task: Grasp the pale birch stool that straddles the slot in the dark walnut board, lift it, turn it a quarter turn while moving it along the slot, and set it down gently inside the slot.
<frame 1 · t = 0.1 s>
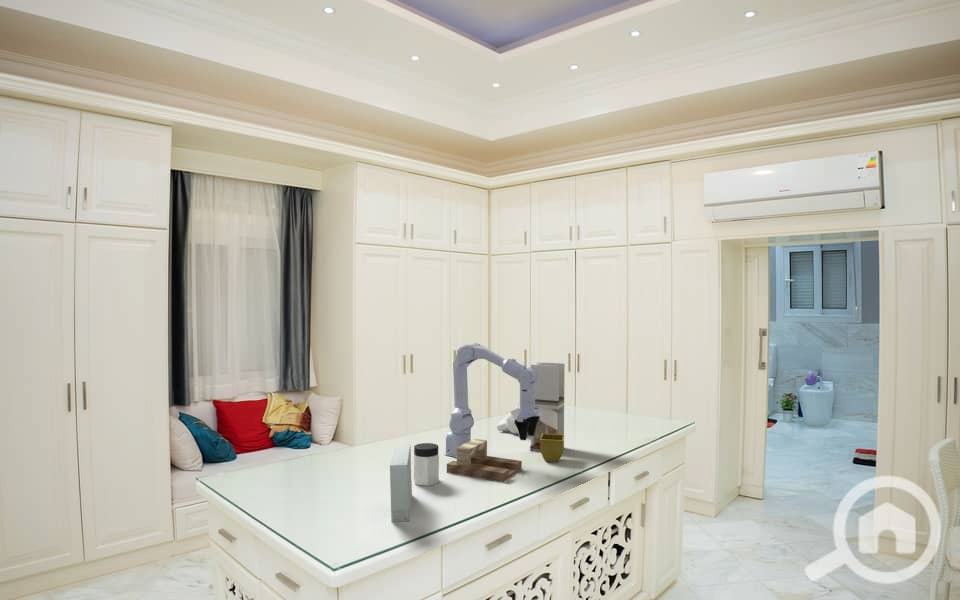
hand: (527, 437, 205), 10 cm above the table, tool pointing down, fingers open, 7 cm apart
board: (484, 470, 198), on the table
grey dispenser tower: (547, 449, 227), on the table
flower pot: (552, 460, 211), on the table
jar: (426, 482, 185), on the table
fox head: (514, 433, 255), on the table
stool: (472, 460, 200), point 3 cm above the table, touching board
skincare box: (401, 508, 162), on the table
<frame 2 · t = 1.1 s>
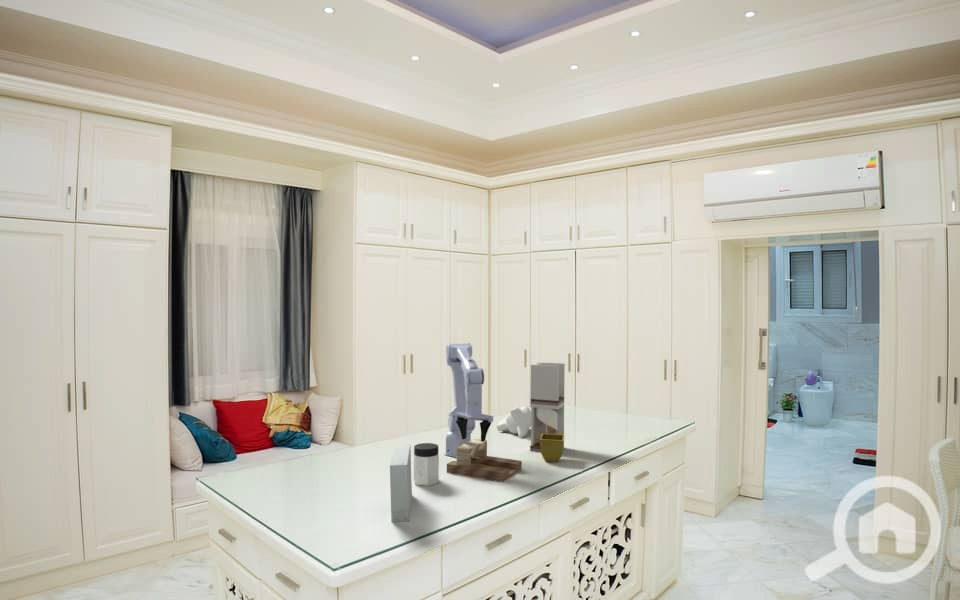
hand: (473, 439, 200), 10 cm above the table, tool pointing down, fingers open, 7 cm apart
nothing on the table moved.
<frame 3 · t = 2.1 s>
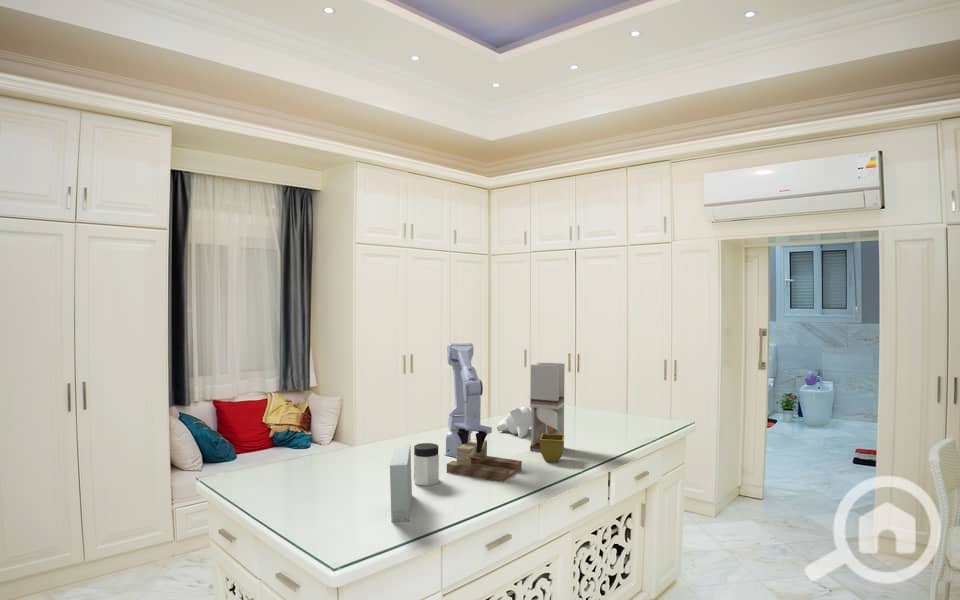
hand: (472, 451, 200), 6 cm above the table, tool pointing down, fingers closed on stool, 5 cm apart
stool: (472, 460, 200), point 3 cm above the table, touching board, gripper
everything else where it was.
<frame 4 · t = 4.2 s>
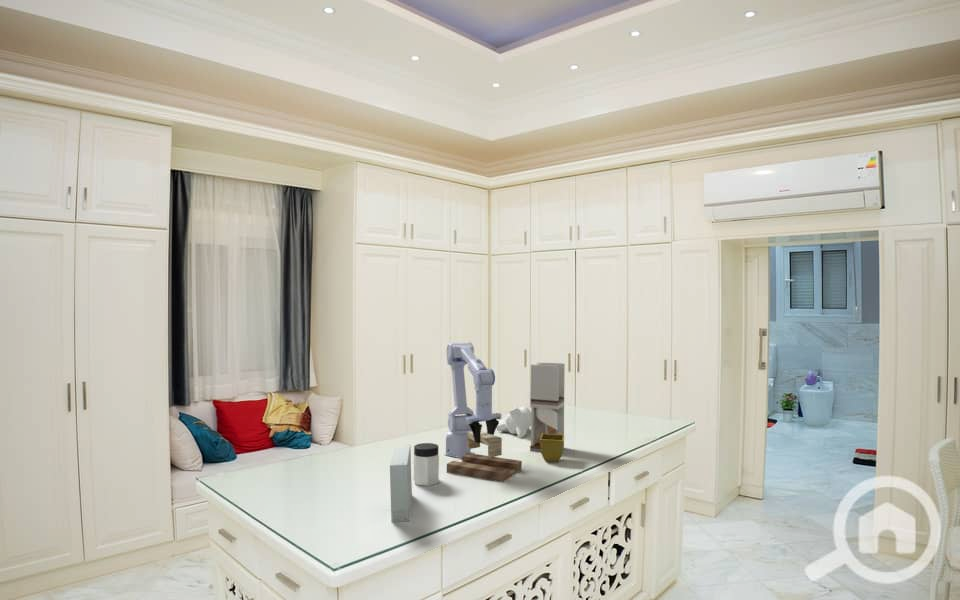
hand: (483, 441, 198), 10 cm above the table, tool pointing down, fingers closed on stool, 5 cm apart
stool: (483, 451, 198), point 7 cm above the table, touching gripper
everything else where it was.
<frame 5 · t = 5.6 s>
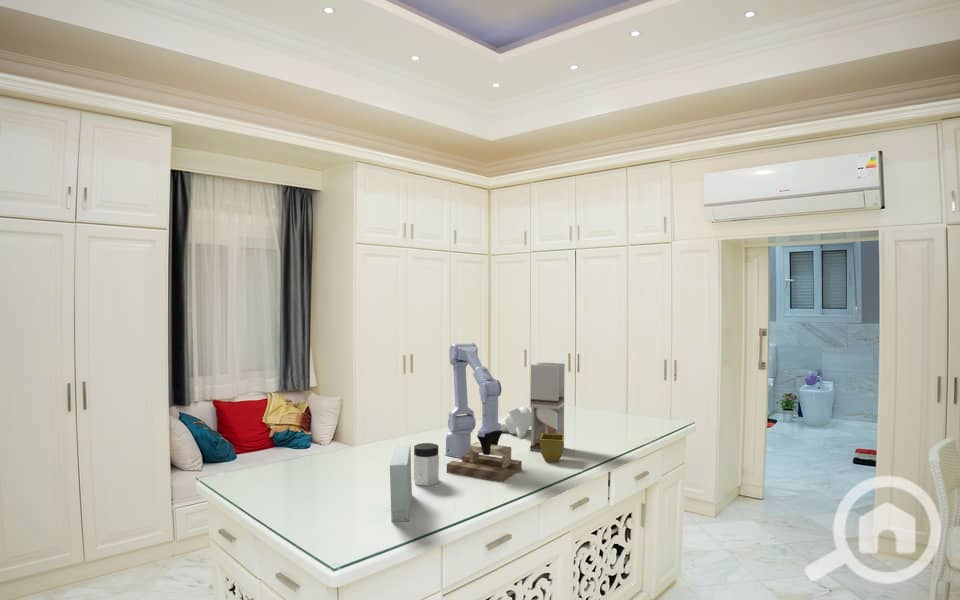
hand: (489, 452, 197), 7 cm above the table, tool pointing down, fingers closed on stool, 5 cm apart
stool: (490, 463, 197), point 3 cm above the table, touching gripper
everything else where it was.
when the fingers open (5 cm above the table, at t = 6.5 s): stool stays where it is, resting on board.
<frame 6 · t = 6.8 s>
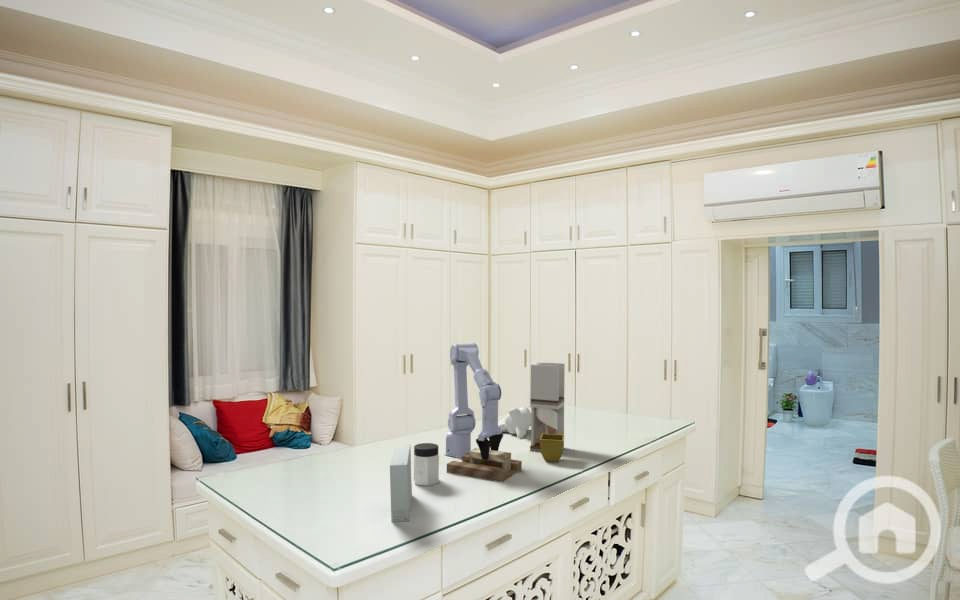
hand: (489, 456, 197), 5 cm above the table, tool pointing down, fingers open, 7 cm apart
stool: (490, 468, 197), point 1 cm above the table, touching board
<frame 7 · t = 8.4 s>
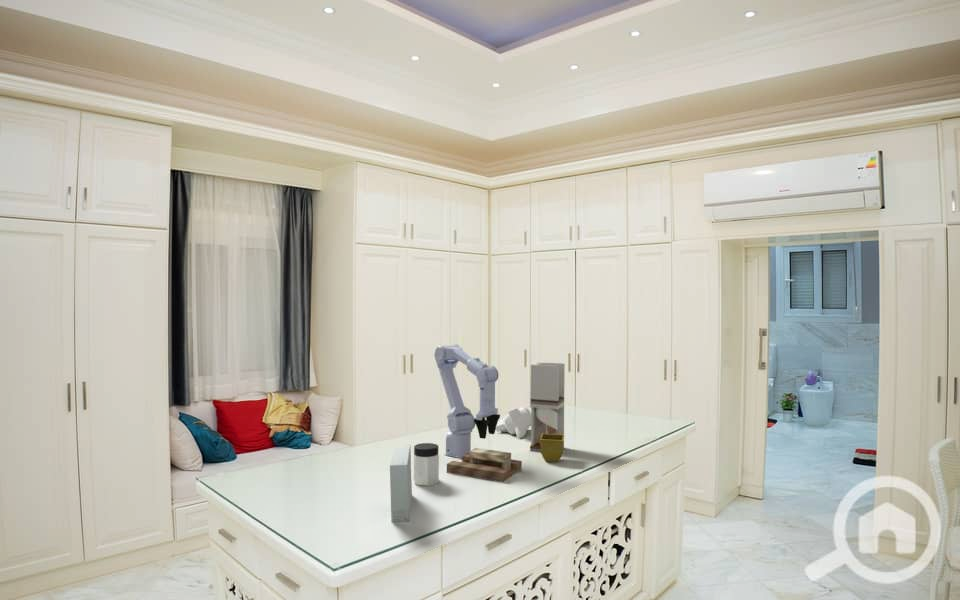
hand: (487, 436, 206), 10 cm above the table, tool pointing down, fingers open, 7 cm apart
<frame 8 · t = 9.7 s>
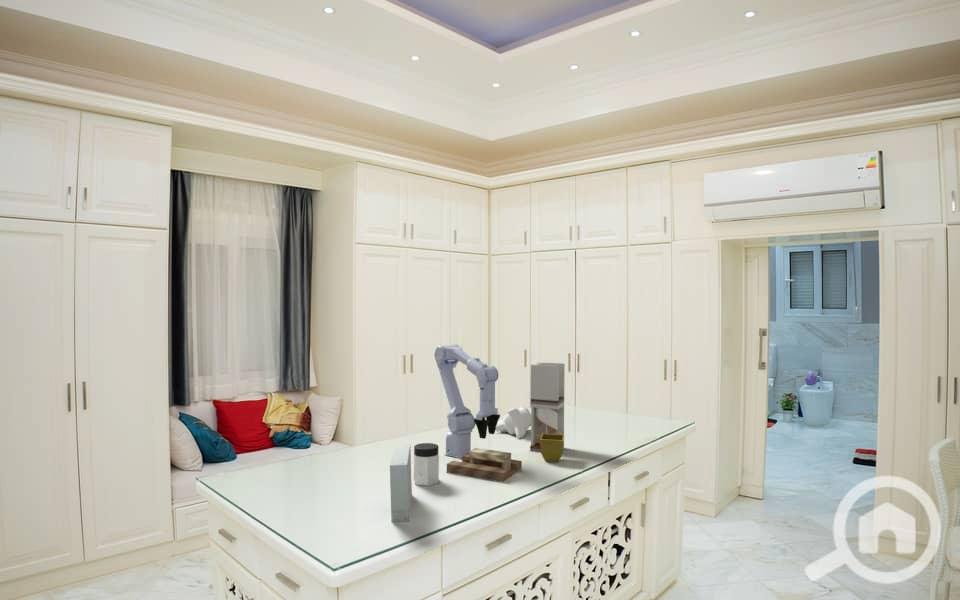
hand: (487, 435, 206), 10 cm above the table, tool pointing down, fingers open, 7 cm apart
at the end: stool inside the target area on the board (1.2 cm from its centre), point 1.0 cm above the board's base; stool tilted 0°; the gripper is holding nothing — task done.
